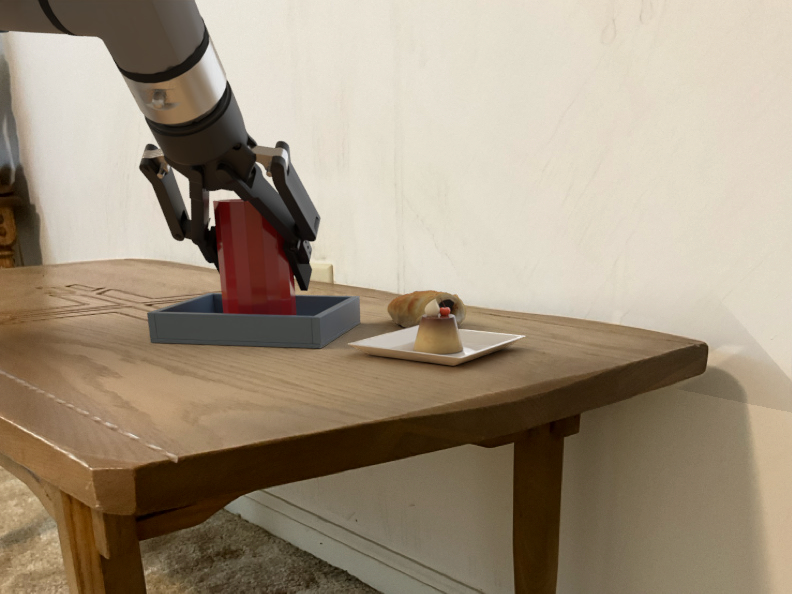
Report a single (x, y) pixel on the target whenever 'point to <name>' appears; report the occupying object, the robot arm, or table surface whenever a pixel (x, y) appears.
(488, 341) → the dessert
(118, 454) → the table surface
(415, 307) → the pastry
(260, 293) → the cup
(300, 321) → the serving tray
